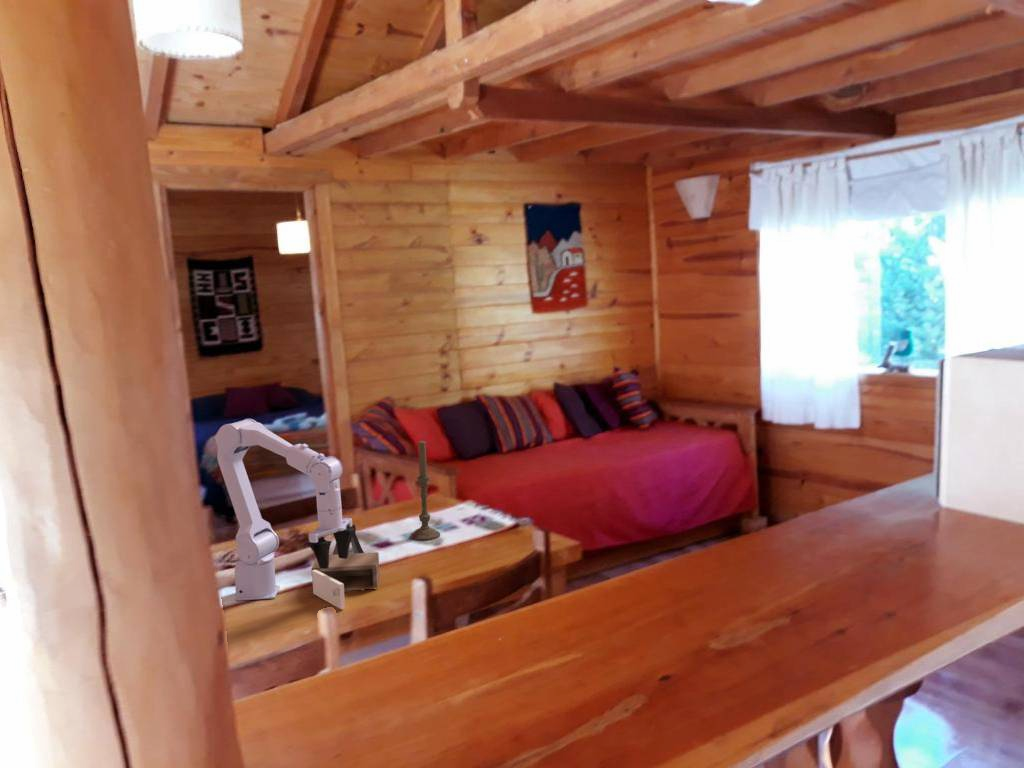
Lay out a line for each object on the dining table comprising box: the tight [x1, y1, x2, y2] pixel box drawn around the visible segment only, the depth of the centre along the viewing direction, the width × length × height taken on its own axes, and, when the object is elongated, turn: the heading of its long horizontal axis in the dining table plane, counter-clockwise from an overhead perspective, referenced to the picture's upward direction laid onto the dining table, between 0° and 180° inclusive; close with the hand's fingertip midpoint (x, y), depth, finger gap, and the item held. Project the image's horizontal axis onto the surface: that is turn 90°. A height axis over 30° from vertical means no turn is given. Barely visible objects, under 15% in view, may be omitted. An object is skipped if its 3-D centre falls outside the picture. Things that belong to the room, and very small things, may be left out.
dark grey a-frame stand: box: [332, 523, 365, 555], centre depth 232 cm, size 9×6×12 cm, turn 116°
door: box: [311, 569, 346, 610], centre depth 204 cm, size 14×2×6 cm, turn 41°
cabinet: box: [311, 551, 381, 592], centre depth 216 cm, size 16×10×6 cm, turn 96°
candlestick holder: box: [410, 440, 441, 542], centre depth 255 cm, size 9×9×30 cm
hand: (333, 563), depth 204 cm, fingers open, 7 cm apart
